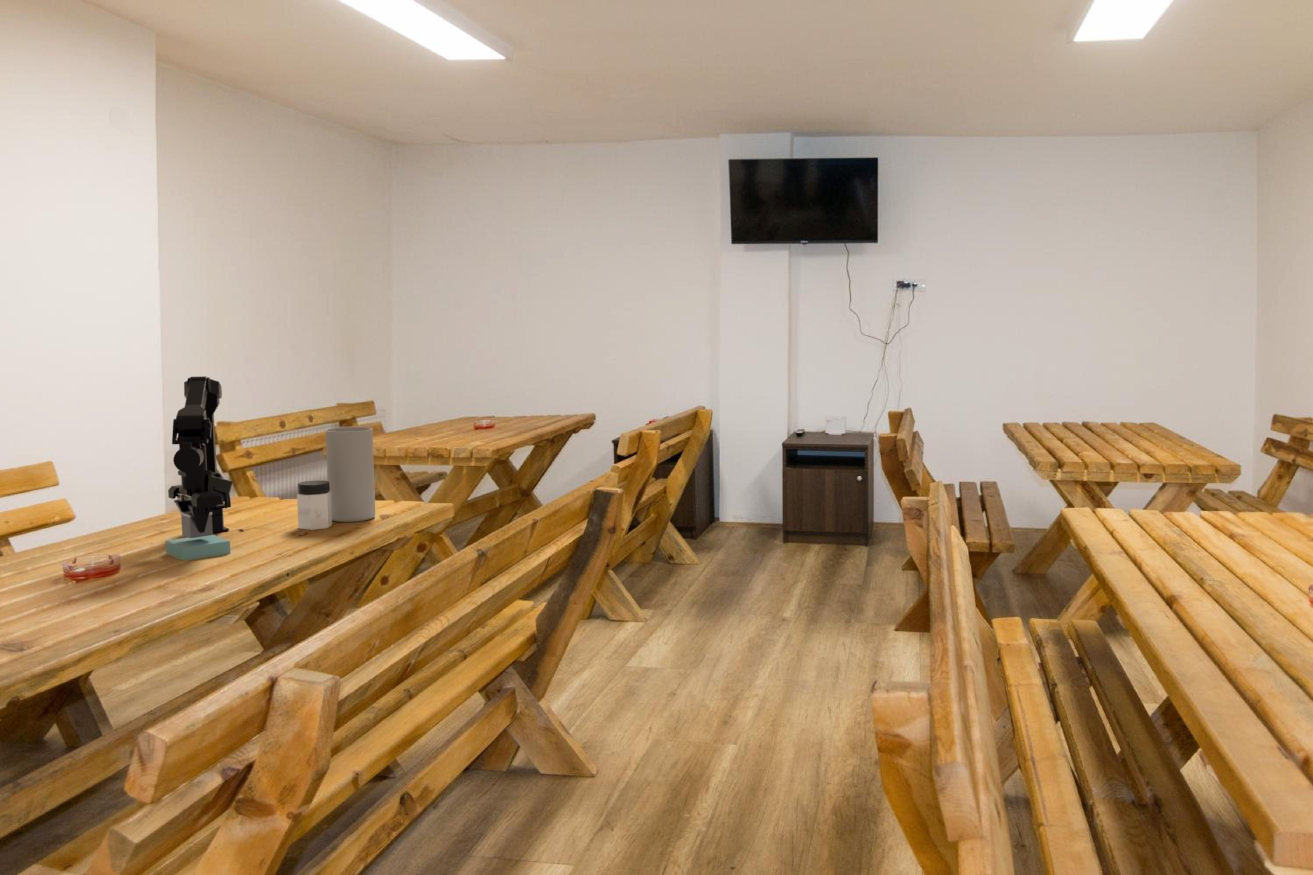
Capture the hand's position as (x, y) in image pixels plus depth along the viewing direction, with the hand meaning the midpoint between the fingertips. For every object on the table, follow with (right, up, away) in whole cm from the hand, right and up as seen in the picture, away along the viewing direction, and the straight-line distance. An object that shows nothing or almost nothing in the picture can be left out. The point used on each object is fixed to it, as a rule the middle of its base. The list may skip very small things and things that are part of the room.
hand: (197, 530), depth 261 cm
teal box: (0, -6, +1) cm, 6 cm away
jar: (+18, -2, +32) cm, 37 cm away
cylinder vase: (+25, 0, +44) cm, 50 cm away
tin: (0, -1, 0) cm, 1 cm away
